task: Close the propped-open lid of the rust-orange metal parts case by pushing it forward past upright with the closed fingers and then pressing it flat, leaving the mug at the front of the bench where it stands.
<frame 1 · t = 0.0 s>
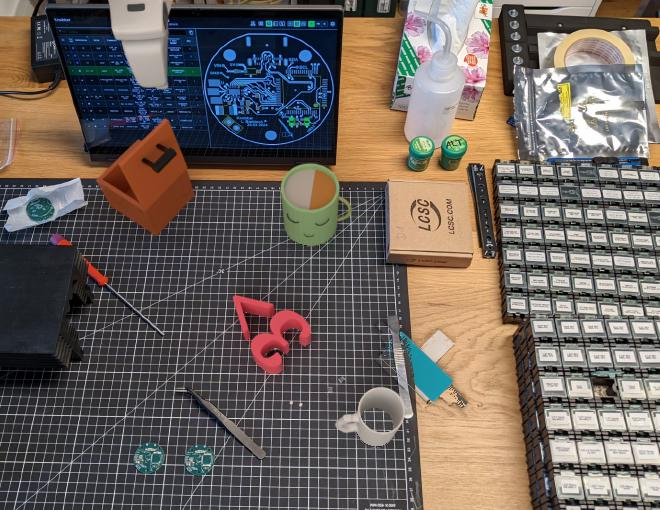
hand: (163, 61, 93), 32 cm above the table, tool pointing down, fingers open, 8 cm apart
phone stand: (422, 361, 106), on the table
red number figure: (265, 333, 107), on the table
mug 2: (317, 225, 118), on the table
case lid: (163, 170, 104), point 16 cm above the table, hinge at 85.0°
mug: (364, 429, 100), on the table
parts case: (152, 200, 119), on the table
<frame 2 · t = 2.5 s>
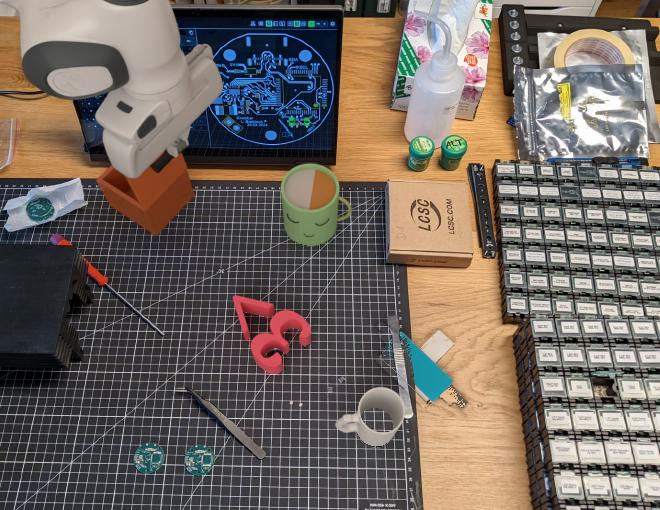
hand: (178, 149, 93), 26 cm above the table, tool pointing down, fingers closed
nothing on the table moved.
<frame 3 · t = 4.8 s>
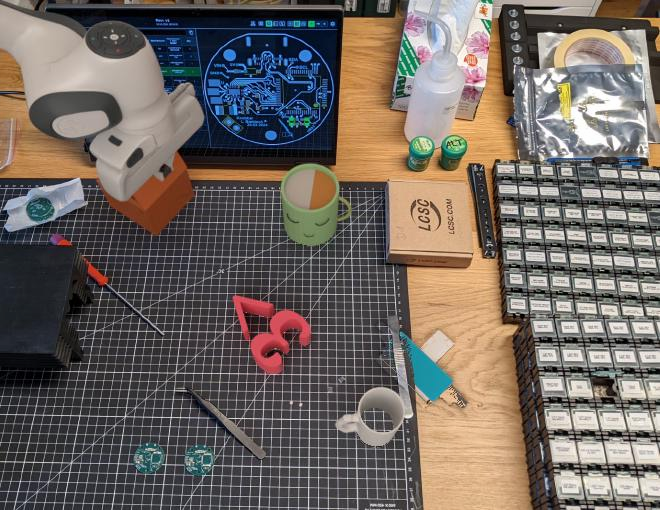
hand: (164, 173, 104), 15 cm above the table, tool pointing down, fingers closed, pressing on case lid
case lid: (155, 165, 104), point 16 cm above the table, hinge at 68.8°, touching gripper
everything else where it was.
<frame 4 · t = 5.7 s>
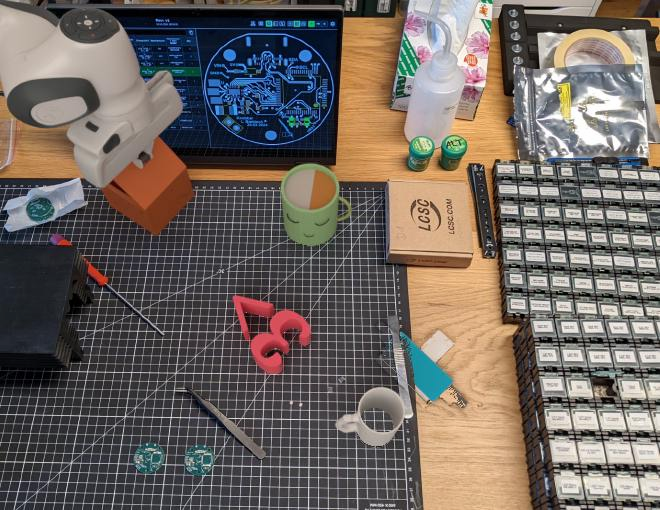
hand: (144, 161, 105), 15 cm above the table, tool pointing down, fingers closed, pressing on case lid
case lid: (143, 160, 105), point 15 cm above the table, hinge at 42.9°, touching gripper
everything else where it was.
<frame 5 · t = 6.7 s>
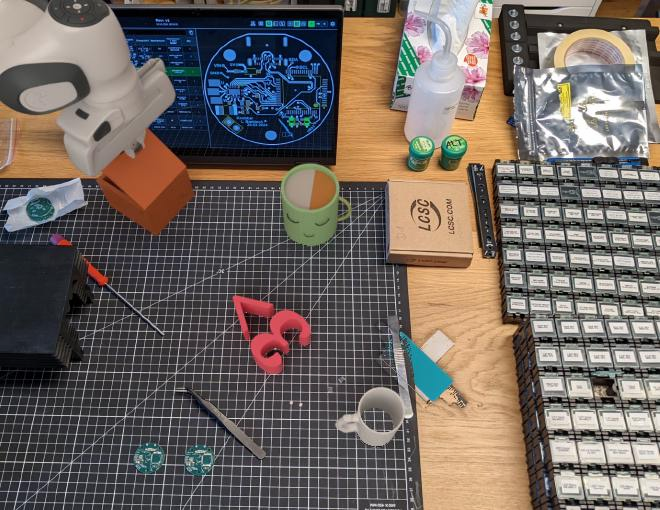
hand: (136, 151, 104), 17 cm above the table, tool pointing down, fingers closed
case lid: (141, 160, 106), point 14 cm above the table, hinge at 35.9°
everything else where it was.
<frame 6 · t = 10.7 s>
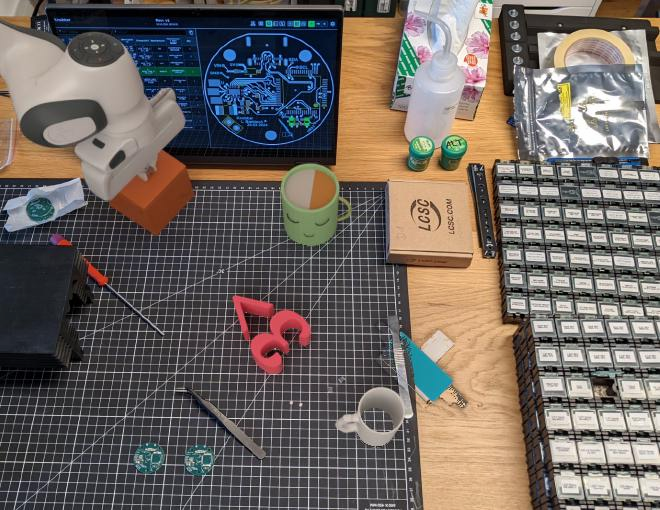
hand: (148, 174, 110), 10 cm above the table, tool pointing down, fingers closed, pressing on case lid
case lid: (136, 163, 109), point 12 cm above the table, hinge at 7.3°, touching gripper
everything else where it was.
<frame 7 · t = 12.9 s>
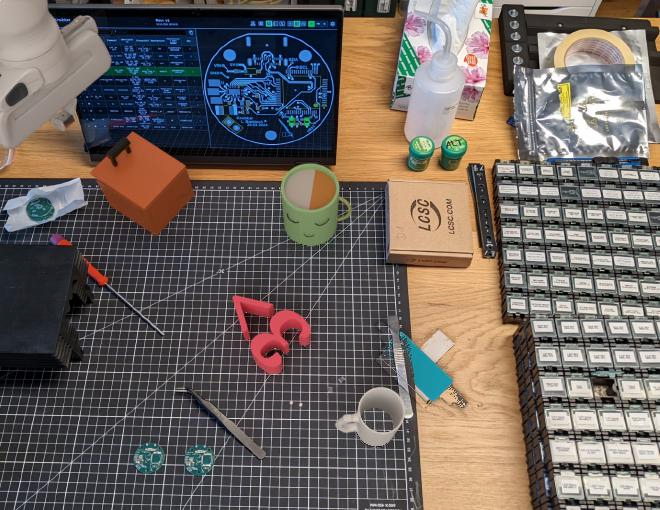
hand: (67, 123, 92), 28 cm above the table, tool pointing down, fingers closed
case lid: (136, 164, 109), point 12 cm above the table, hinge at 4.2°
everything else where it was.
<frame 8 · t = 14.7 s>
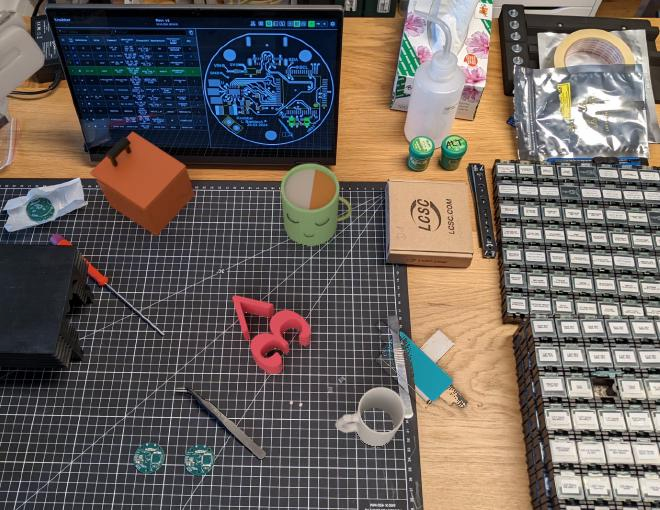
hand: (0, 124, 88), 31 cm above the table, tool pointing down, fingers closed
nothing on the table moved.
at the end: case lid at +4° (first picture: +85°); mug moved 0.2 cm from its start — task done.
